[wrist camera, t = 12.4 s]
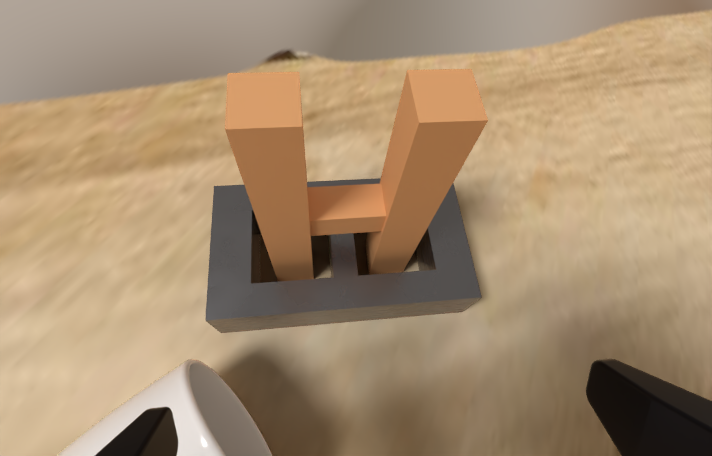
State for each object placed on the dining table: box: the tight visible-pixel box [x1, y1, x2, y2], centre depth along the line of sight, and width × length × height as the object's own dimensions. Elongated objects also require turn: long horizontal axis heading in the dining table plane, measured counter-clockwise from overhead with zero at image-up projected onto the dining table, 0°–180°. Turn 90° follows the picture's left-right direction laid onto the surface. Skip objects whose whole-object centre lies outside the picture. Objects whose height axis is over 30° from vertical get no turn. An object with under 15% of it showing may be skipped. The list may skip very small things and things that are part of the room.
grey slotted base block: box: [206, 179, 481, 333], centre depth 21 cm, size 13×7×3 cm, turn 96°
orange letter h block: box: [225, 69, 488, 282], centre depth 17 cm, size 7×2×13 cm, turn 96°
